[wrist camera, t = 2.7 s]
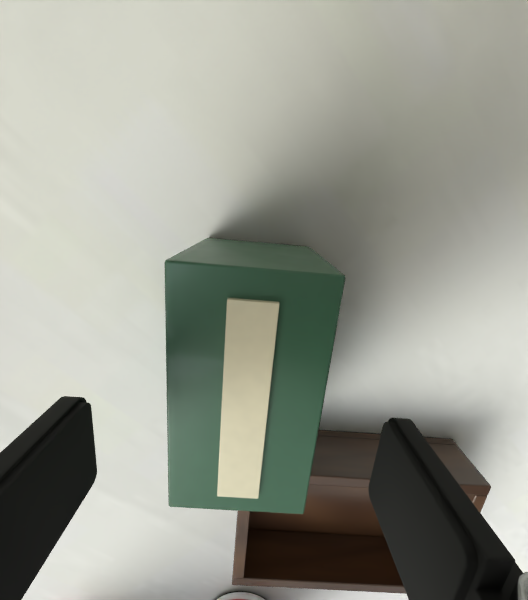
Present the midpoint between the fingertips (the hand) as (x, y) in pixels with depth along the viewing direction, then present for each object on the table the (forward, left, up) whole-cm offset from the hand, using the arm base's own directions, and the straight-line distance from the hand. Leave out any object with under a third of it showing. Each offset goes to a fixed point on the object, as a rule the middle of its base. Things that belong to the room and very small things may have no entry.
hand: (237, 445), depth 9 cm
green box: (-1, 0, -8) cm, 8 cm away
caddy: (+11, +7, -8) cm, 15 cm away
